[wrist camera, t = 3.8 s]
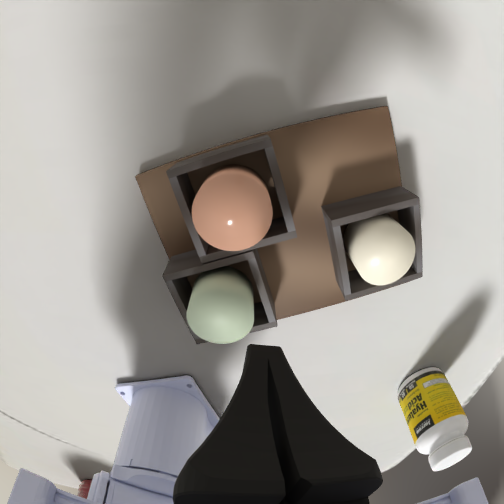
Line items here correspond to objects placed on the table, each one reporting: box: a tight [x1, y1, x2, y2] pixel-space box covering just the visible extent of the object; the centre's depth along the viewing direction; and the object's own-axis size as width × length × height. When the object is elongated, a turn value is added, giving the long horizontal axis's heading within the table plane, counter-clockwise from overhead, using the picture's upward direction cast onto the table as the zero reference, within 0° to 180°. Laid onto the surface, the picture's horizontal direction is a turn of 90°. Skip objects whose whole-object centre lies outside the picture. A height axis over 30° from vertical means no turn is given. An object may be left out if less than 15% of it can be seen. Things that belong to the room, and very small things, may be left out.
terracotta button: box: [192, 164, 273, 251], centre depth 15 cm, size 4×4×3 cm
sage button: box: [186, 266, 254, 344], centre depth 18 cm, size 4×4×3 cm
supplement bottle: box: [397, 367, 472, 471], centre depth 22 cm, size 5×5×10 cm
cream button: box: [343, 213, 415, 285], centre depth 17 cm, size 4×4×3 cm
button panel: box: [135, 106, 422, 344], centre depth 18 cm, size 12×15×3 cm
